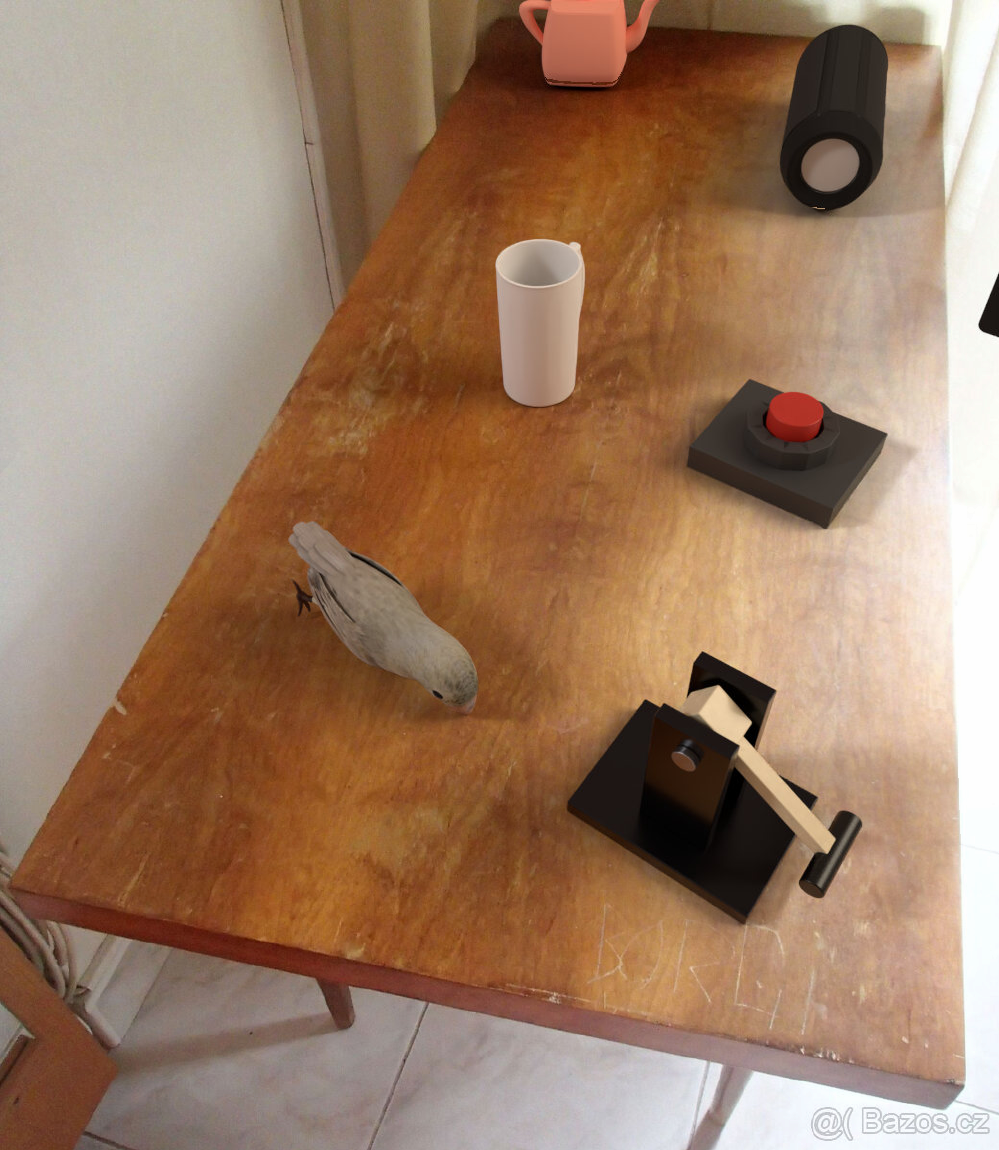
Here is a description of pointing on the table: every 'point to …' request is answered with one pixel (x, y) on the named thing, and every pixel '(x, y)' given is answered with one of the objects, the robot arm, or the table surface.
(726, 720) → the lever handle
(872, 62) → the portable speaker
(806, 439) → the red button
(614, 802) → the lever stand
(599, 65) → the teapot
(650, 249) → the table surface
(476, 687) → the decorative bird
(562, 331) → the mug
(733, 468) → the control block
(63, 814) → the table surface
